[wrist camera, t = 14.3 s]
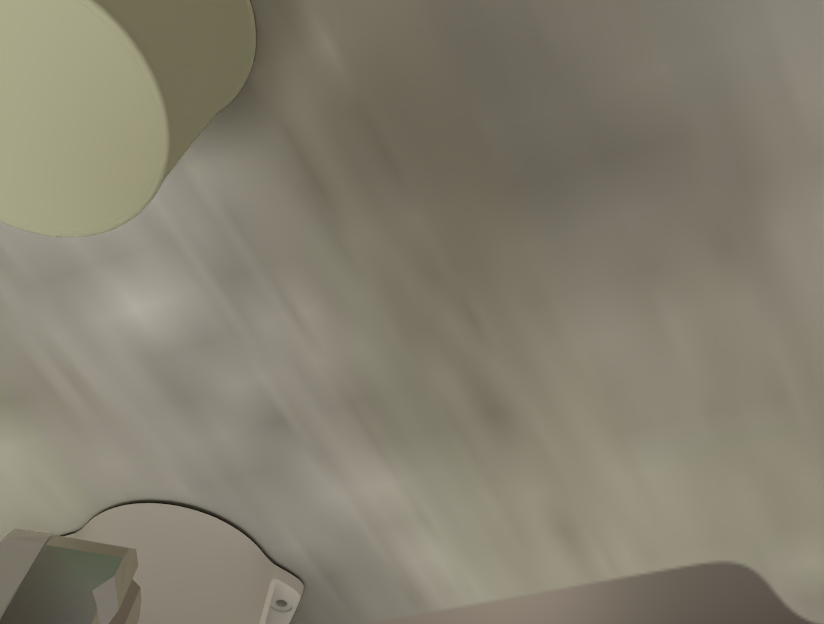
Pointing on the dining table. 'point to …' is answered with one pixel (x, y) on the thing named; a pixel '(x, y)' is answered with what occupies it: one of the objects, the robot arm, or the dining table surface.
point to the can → (108, 102)
